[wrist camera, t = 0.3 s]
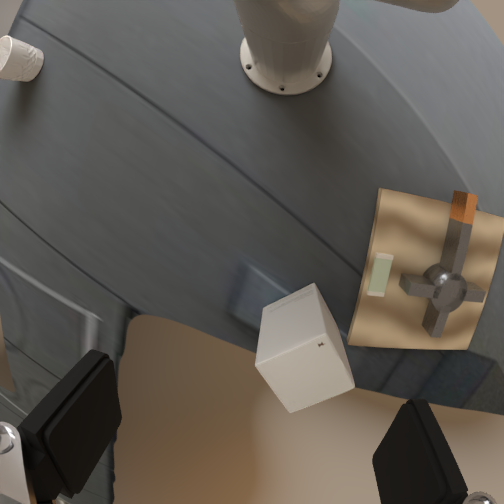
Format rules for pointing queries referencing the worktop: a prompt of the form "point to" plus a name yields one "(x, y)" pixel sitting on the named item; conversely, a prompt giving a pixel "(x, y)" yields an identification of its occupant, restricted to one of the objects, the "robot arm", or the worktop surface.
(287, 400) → the supplement box
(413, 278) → the capstan
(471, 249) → the stand plate
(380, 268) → the level window
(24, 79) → the white cup
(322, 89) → the worktop surface
